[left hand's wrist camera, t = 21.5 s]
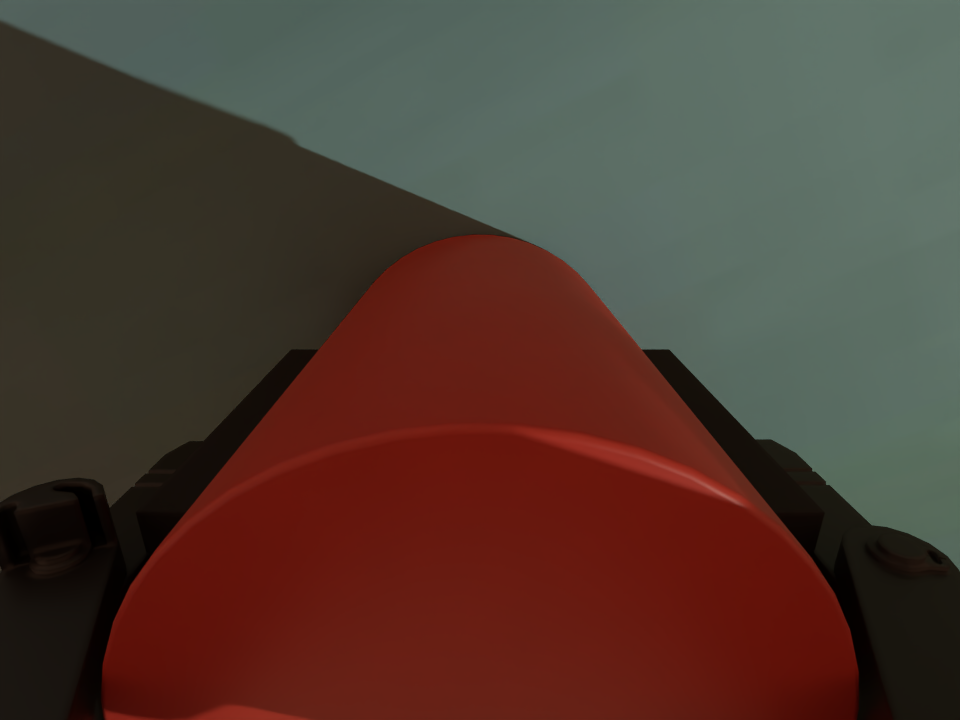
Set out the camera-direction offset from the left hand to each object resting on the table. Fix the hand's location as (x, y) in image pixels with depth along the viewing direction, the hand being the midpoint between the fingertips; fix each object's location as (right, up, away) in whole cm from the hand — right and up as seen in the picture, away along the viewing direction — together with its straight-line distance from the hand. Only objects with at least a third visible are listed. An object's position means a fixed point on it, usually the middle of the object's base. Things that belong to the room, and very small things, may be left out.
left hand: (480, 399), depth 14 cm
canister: (0, +1, +2) cm, 2 cm away
